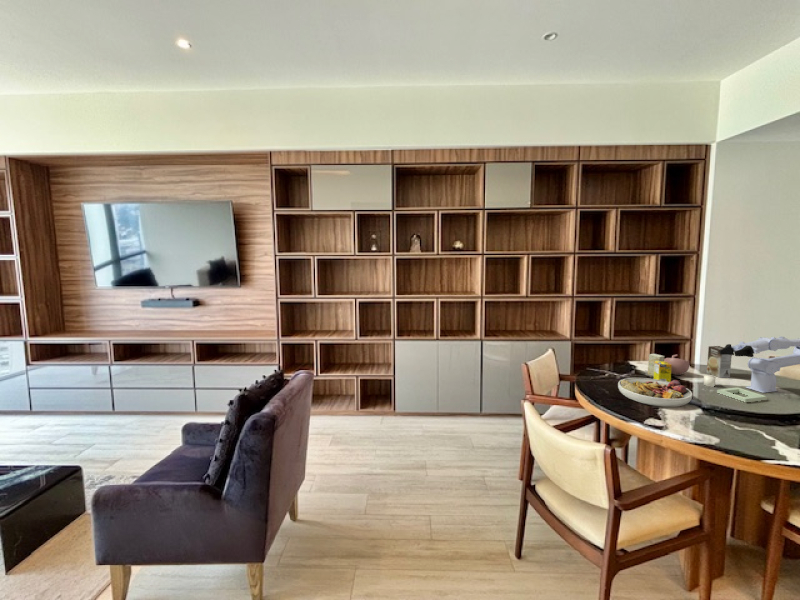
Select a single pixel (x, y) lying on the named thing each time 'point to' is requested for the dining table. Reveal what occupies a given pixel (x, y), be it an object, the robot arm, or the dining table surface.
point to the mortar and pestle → (677, 365)
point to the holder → (751, 395)
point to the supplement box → (662, 371)
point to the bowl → (655, 392)
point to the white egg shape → (709, 380)
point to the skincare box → (651, 362)
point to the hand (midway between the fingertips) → (727, 353)
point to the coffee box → (718, 362)
